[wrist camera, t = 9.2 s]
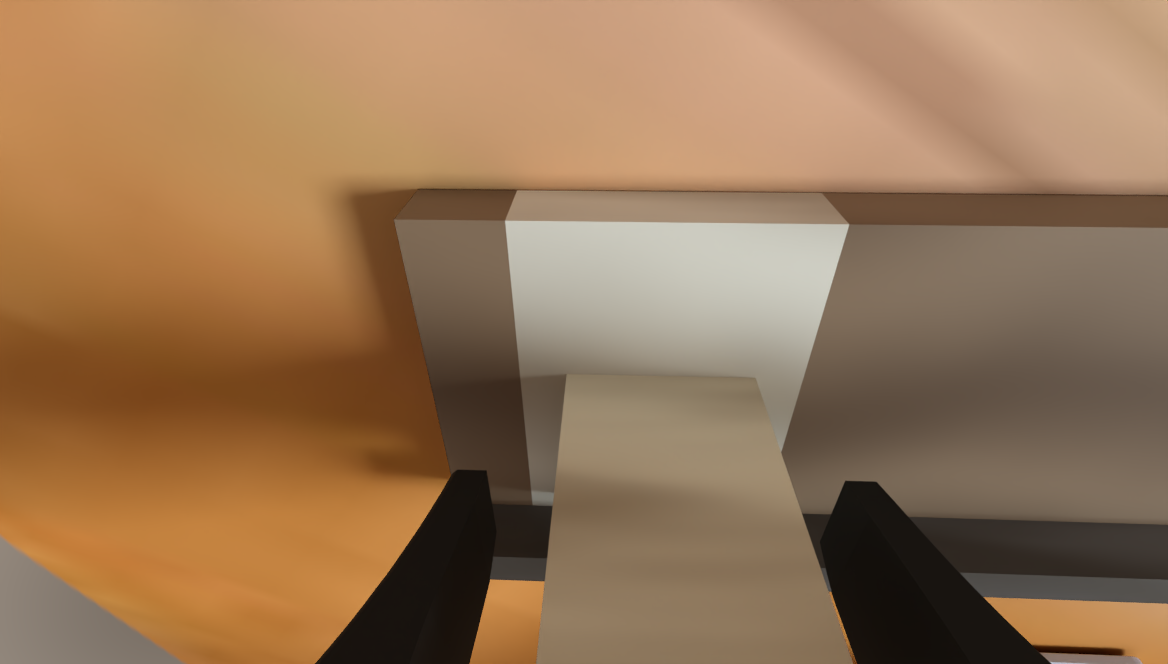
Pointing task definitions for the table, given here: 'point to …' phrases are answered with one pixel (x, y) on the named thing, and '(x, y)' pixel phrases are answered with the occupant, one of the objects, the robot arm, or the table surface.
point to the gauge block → (678, 532)
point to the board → (830, 356)
